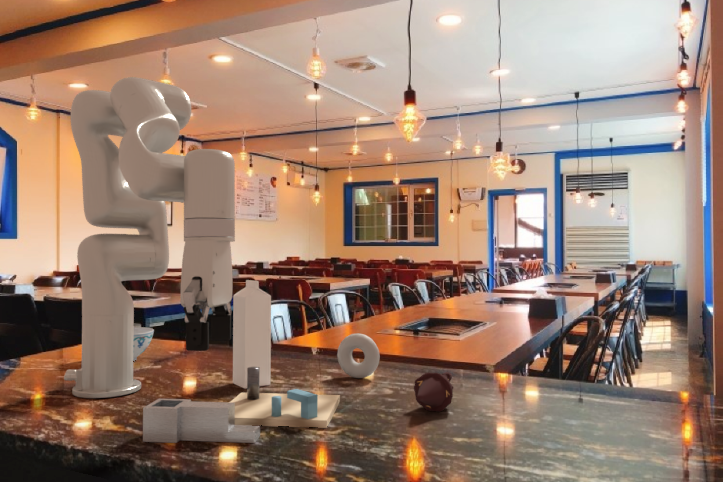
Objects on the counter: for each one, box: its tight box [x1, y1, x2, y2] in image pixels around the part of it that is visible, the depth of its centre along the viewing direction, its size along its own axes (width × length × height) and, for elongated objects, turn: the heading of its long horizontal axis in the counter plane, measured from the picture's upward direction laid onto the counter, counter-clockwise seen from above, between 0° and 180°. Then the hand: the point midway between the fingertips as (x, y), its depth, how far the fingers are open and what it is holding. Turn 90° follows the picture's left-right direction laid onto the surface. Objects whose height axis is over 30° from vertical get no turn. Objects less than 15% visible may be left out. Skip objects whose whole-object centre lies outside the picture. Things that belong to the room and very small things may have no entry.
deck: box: [229, 392, 341, 429], centre depth 99 cm, size 19×16×1 cm
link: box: [142, 398, 261, 444], centre depth 85 cm, size 17×5×5 cm, turn 85°
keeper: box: [271, 388, 319, 419], centre depth 93 cm, size 6×5×5 cm
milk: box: [232, 279, 272, 389], centre depth 120 cm, size 6×6×22 cm
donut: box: [336, 333, 381, 379], centre depth 126 cm, size 10×4×10 cm, turn 68°
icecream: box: [413, 371, 454, 413], centre depth 101 cm, size 7×7×15 cm
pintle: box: [246, 367, 260, 400], centre depth 104 cm, size 2×2×6 cm
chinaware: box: [133, 326, 155, 362], centre depth 145 cm, size 15×15×8 cm
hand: (209, 345), depth 85 cm, fingers open, 9 cm apart
